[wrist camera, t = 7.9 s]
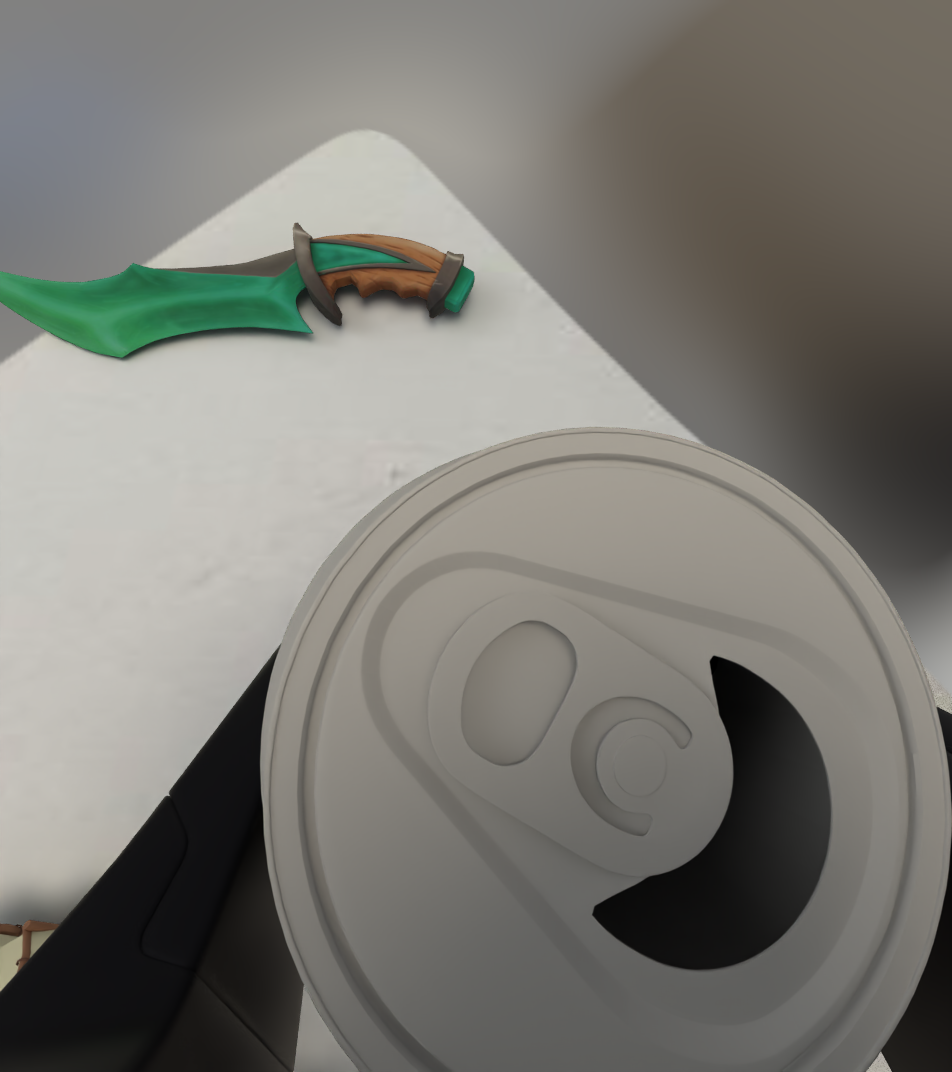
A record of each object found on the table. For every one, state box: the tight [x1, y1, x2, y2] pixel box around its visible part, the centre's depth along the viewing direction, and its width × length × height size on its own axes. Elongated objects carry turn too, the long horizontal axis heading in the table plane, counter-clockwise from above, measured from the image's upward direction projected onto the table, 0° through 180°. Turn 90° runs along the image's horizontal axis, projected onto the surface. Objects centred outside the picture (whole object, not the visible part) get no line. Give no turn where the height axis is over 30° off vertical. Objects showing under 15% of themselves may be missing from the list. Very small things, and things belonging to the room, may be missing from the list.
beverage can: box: [260, 427, 952, 1072], centre depth 10 cm, size 6×6×12 cm
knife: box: [0, 223, 474, 358], centre depth 22 cm, size 21×2×5 cm
